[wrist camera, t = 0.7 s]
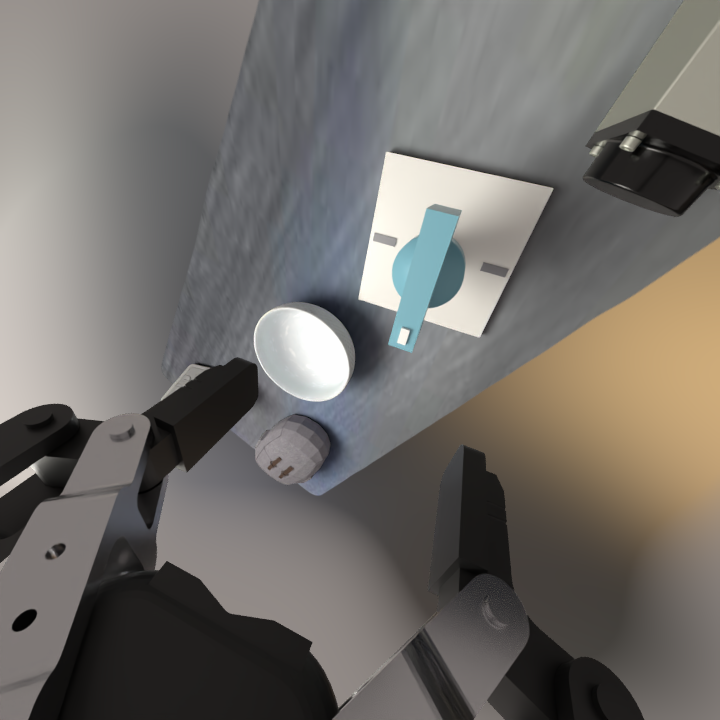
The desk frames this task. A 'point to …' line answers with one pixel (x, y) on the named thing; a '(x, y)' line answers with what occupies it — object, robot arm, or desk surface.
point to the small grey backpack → (292, 450)
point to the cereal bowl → (305, 350)
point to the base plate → (473, 232)
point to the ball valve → (666, 119)
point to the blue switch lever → (426, 273)
